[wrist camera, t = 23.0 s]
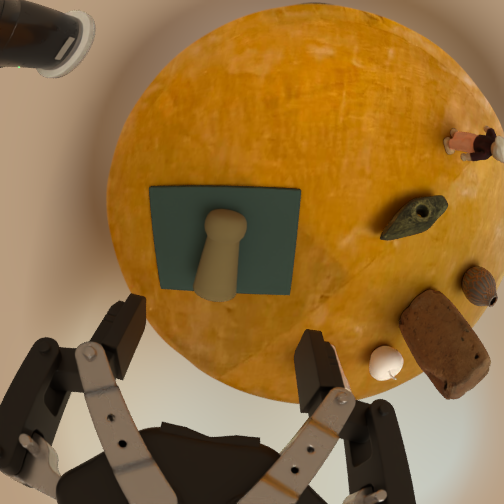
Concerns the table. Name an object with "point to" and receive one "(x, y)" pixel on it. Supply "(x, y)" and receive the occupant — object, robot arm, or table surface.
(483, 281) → the vase
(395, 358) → the plain white apple
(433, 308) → the block
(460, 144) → the grandmother figurine
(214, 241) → the cork
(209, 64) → the table surface
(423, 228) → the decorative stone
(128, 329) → the robot arm
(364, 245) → the table surface
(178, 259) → the mat
